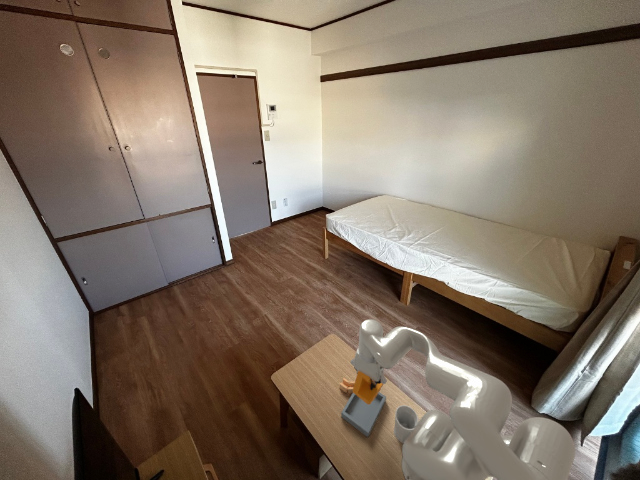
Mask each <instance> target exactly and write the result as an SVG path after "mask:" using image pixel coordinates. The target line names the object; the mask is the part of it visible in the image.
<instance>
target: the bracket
mask: <svg viewBox="0 0 640 480" xmlns="http://www.w3.org/2000/svg"><path fill="white" fill-rule="evenodd" d="M354 381H355V384H354V387H353V393H354V394H356V395H357V396H358V397H359V398H360V399H362V400H363V401H364V402H365V403H367V404H371V403H372V401H373V400H374V399H375V397H376V396H377V394H378V393H379V392H380V391H381V390H382V387H383V385H384V384H382V383H380V384H377V385H376V387H375V388H373V389H372V390H371V389H370V386H371V382H372V379H370V377H369V376H367V375H365V374H363V373H362V372H360V371H358V374H357V373H356V377H355V380H354Z"/></svg>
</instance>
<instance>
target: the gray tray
mask: <svg viewBox="0 0 640 480" xmlns="http://www.w3.org/2000/svg"><path fill="white" fill-rule="evenodd" d="M386 399H387V396H386V395H385V394H383V393H382V392H380V391H379V393H378V394H377V396H376V397H375V399H374V400H373V401H372V403H371V404H367V403H365V402H364V401H363V400H362V399H360V398H359V397H358V396H357V395H356V394H354V393H353V394H351V396H350V397H349V399H348V401H347V402H346V404H345V405H344V407H343V408H342V411H341V412H340V414H341V415H340V417H341V418H342V419H343V420H345V421H346V422H348V423H349V424H350V425H351V426H353V427H354V428H355V429H357V431H359V432H360V433H361V434H363V435H364V436H365V437H367V438H369V436H370V434H371V432H372V430H373V427H374V426H375V424H376V422H377V419H378V417H379V415H380V413H381V411H382V409H383V406H384V405H385V403H386Z"/></svg>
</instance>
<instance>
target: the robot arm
mask: <svg viewBox="0 0 640 480" xmlns="http://www.w3.org/2000/svg"><path fill="white" fill-rule="evenodd" d="M358 336H359V337H358V348H357V349H356V352H355V355H354V358H351V360H350V362H349V363H350V364H351V365H352V366H353V368H354V369H355V371H356V375H357V374H358V371H360V372H362V373H363V374H365V375H367V376H369V377H370V379H372V382H371V386H370V389H371V390H372V389H373V388H375V387H376V385H377V384H380V383H382V384H383V385H386V383H388V382H387V381H388V380H387V378H386V376H385V375H384V371H385V370H390V369H393V368H394V367H395V366H396V365H397V364H398V363H399V362H400V360H402V358H404V357H405V355H407V354H408V353H409V352H410V351H411V350H413V351H416V352H418V353H421V354H422V355H424V356H425V357H426V362H425V363H426V365H425V368H424V369H425V370H424V374H425V376H424V377H425V381H426V383H427V385H428V386H429V387H430V388H431V389H432V390H434V391H436V392H438V393H439V394H441V395H443V396H445V397H447V398H449V399H451V401H452V400H453V403H452V404H451V405H450V407H449V411H448V414H449V415H448V414H446V413H445V412H444V411H441V410H439V409H429V410H428V411H427V412H425V413H424V414H423V415H422V417H421V418H420V419H419V422H418V423H417V425H416V426H415V428H414V429H413V431H412V432H411V433H410V435H409V436H408V437H407V439H406V440H405V442H404V443H402V450H401V451H402V452H401V453H402V458H401V469H402V470H401V471H402V473H403V476H404V479H405V480H486V479H489V478H494V479H496V480H568V479H569V477H570V472H571V469H572V465H573V462H574V461H575V458H576V457H575V456H576V447H575V446H576V445H575V442H574V440H573V438H572V436H571V434H570V433H569V431H568V430H567V429H566V428H565V427H564V426H563V425H561V424H560V423H558V422H556V421H554V420H552V419H549V418H547V417H539V416H536V417H529V418H527V419H525V420H523V421H522V422H521V423H520V424H519V425H518V426H517V427H516V429H515V431H514V433H513V434H512V435H506V434H505V435H504V434H501V432H502V430H503V429H504V425H505V424H506V422H507V420H508V418H509V415H510V413H511V409H512V406H513V397H512V393H511V391H510V388H509V387H508V386H507V384H506V383H504V382H503V381H502V380H500V379H499V378H497V377H495V376H493V375H491V374H489V373H485V372H484V371H481V370H479V369H476V368H474V367H473V366H469V365H467V364H465V363H462V362H459V361H457V360H456V359H452V358H450V357H447V356H445V355H443V354H441V352H440V350H439V349H438V347H437V346H436V345H435V344H434V342H433V341H432V340H431V339H430V338H429V337H428V336H427V335H425V334H424V333H422V332H421V331H419V330H416V329H413V328H410V327H408V326H402V325H401V326H396V327H394V328H392V329H391V330H390V331H389V332H388V333H387V334H385V336H384V327H383V325H382V324H381V323H380V322H379V321H378V320H376V319H371V318H369V319H366V320H365V319H364V321H362V322H361V324H360V325H359V333H358Z"/></svg>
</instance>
